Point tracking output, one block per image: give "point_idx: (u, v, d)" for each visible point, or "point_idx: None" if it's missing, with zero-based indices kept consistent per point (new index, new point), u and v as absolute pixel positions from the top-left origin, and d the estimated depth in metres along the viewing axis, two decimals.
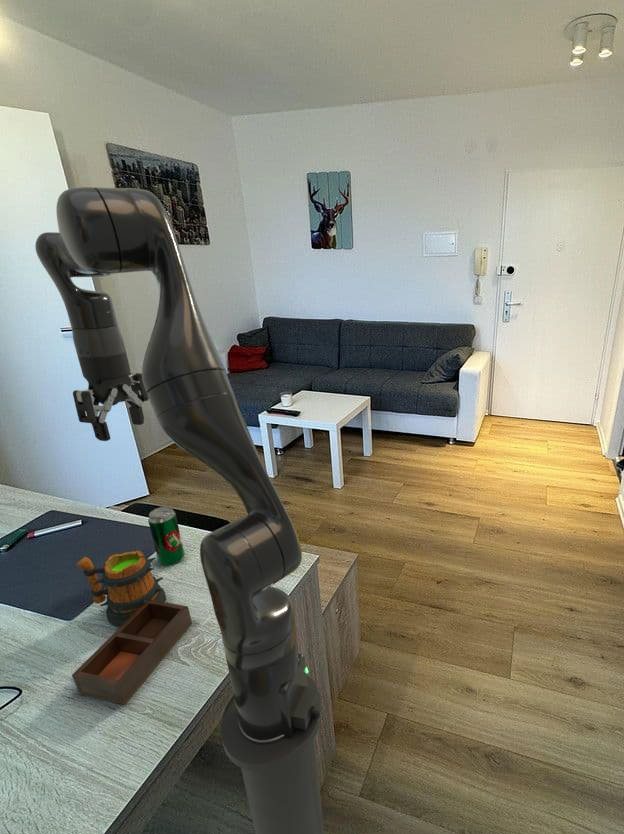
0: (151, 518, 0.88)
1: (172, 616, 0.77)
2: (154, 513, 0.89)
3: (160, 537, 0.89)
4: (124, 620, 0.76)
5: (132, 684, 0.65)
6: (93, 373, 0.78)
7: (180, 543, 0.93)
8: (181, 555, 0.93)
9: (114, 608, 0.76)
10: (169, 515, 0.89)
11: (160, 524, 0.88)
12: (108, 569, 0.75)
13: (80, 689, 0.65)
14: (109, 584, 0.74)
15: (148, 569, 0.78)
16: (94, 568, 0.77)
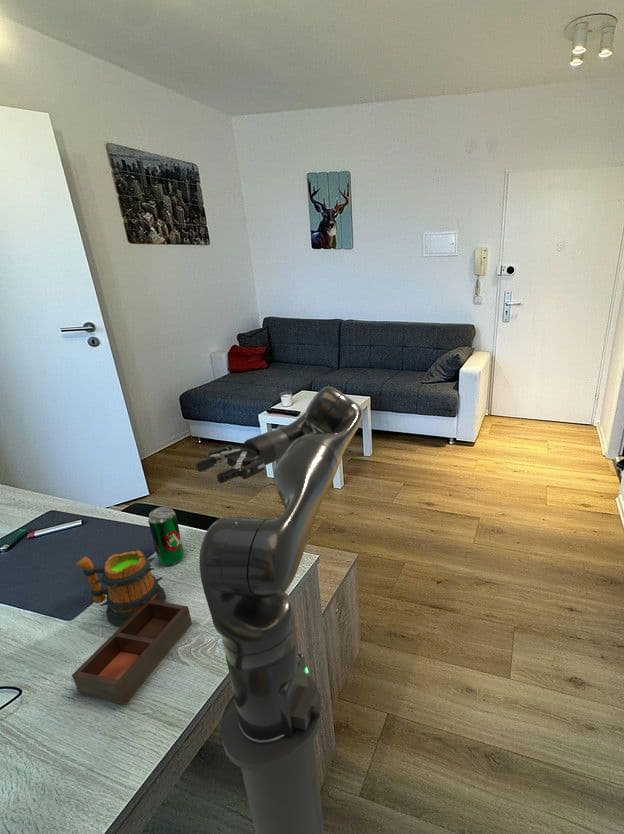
0: (151, 518, 0.88)
1: (172, 616, 0.77)
2: (154, 513, 0.89)
3: (160, 537, 0.89)
4: (124, 620, 0.76)
5: (132, 684, 0.65)
6: (266, 460, 1.04)
7: (180, 543, 0.93)
8: (181, 555, 0.93)
9: (114, 608, 0.76)
10: (169, 515, 0.89)
11: (160, 524, 0.88)
12: (108, 569, 0.75)
13: (80, 689, 0.65)
14: (109, 584, 0.74)
15: (148, 569, 0.78)
16: (94, 568, 0.77)
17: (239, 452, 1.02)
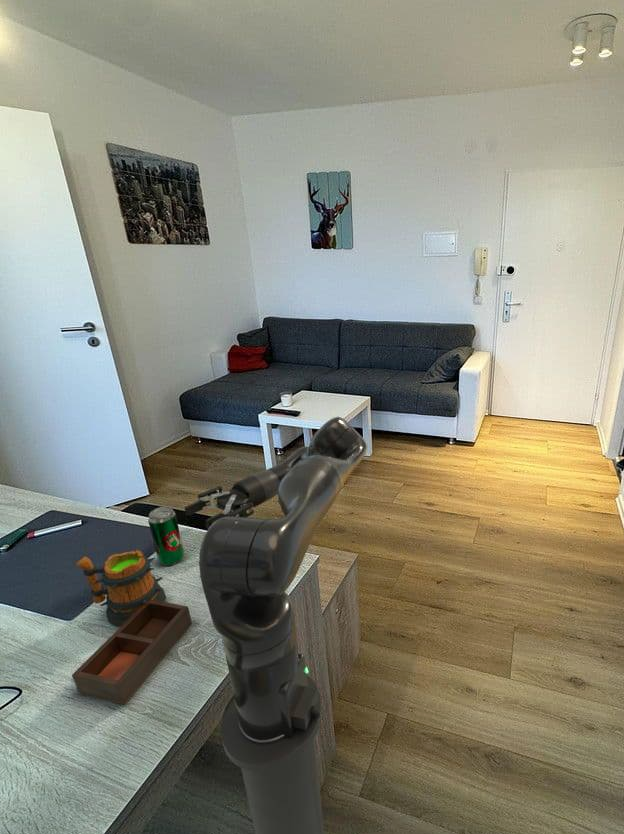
0: (151, 518, 0.88)
1: (172, 616, 0.77)
2: (154, 513, 0.89)
3: (160, 537, 0.89)
4: (124, 620, 0.76)
5: (132, 684, 0.65)
6: (255, 502, 1.04)
7: (180, 543, 0.93)
8: (181, 555, 0.93)
9: (114, 608, 0.76)
10: (169, 515, 0.89)
11: (160, 524, 0.88)
12: (108, 569, 0.75)
13: (80, 689, 0.65)
14: (109, 584, 0.74)
15: (148, 569, 0.78)
16: (94, 568, 0.77)
17: (228, 495, 1.03)
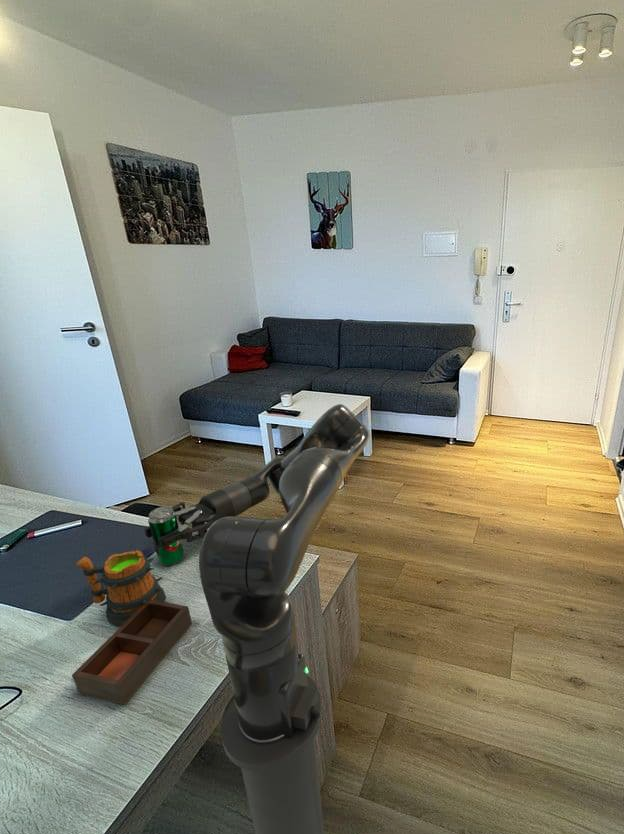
0: (151, 518, 0.88)
1: (172, 616, 0.77)
2: (154, 513, 0.89)
3: None
4: (124, 620, 0.76)
5: (132, 684, 0.65)
6: (223, 518, 0.98)
7: (180, 543, 0.93)
8: (181, 555, 0.93)
9: (114, 608, 0.76)
10: (169, 515, 0.89)
11: (160, 524, 0.88)
12: (108, 569, 0.75)
13: (80, 689, 0.65)
14: (109, 584, 0.74)
15: (148, 569, 0.78)
16: (94, 568, 0.77)
17: (194, 510, 0.96)
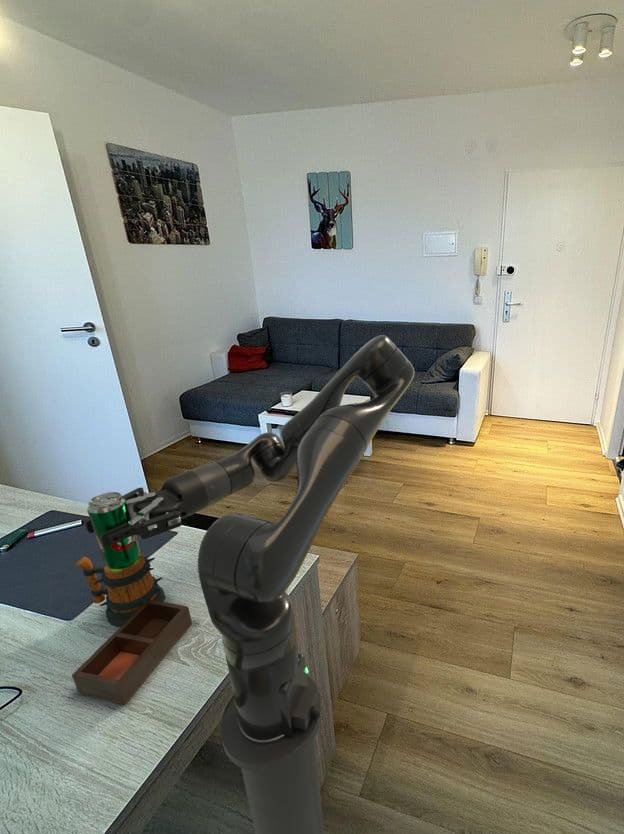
0: (91, 507, 0.65)
1: (172, 616, 0.77)
2: (96, 500, 0.67)
3: None
4: (123, 620, 0.76)
5: (132, 684, 0.65)
6: (192, 507, 0.75)
7: (133, 540, 0.70)
8: (135, 556, 0.70)
9: (114, 608, 0.76)
10: (116, 503, 0.66)
11: (102, 514, 0.65)
12: (107, 569, 0.75)
13: (80, 689, 0.65)
14: (108, 584, 0.74)
15: (147, 569, 0.78)
16: (93, 568, 0.77)
17: (153, 497, 0.74)
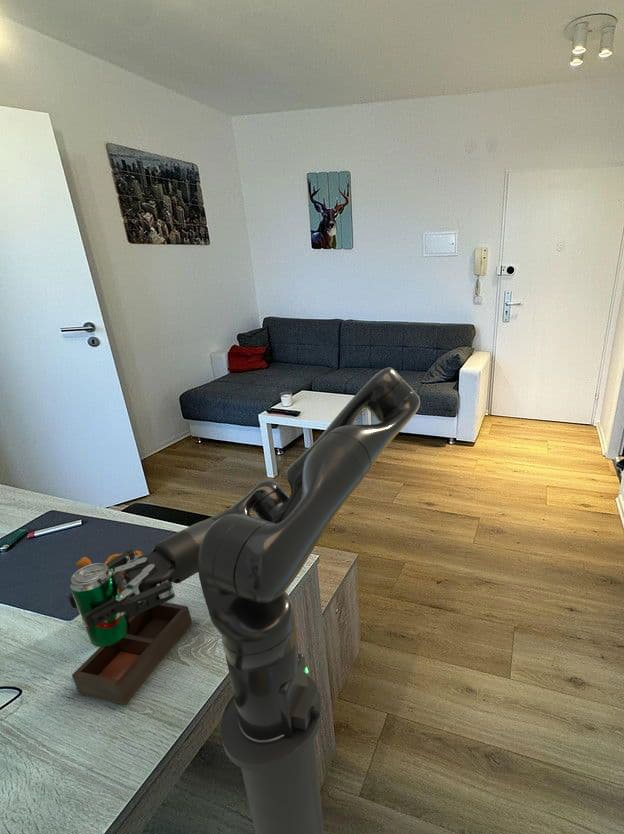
0: (73, 584, 0.59)
1: (172, 616, 0.77)
2: (80, 574, 0.61)
3: None
4: None
5: (132, 684, 0.65)
6: (186, 573, 0.69)
7: (122, 614, 0.64)
8: (124, 631, 0.65)
9: None
10: (102, 579, 0.60)
11: (86, 593, 0.59)
12: None
13: (80, 689, 0.65)
14: None
15: None
16: None
17: (144, 564, 0.68)
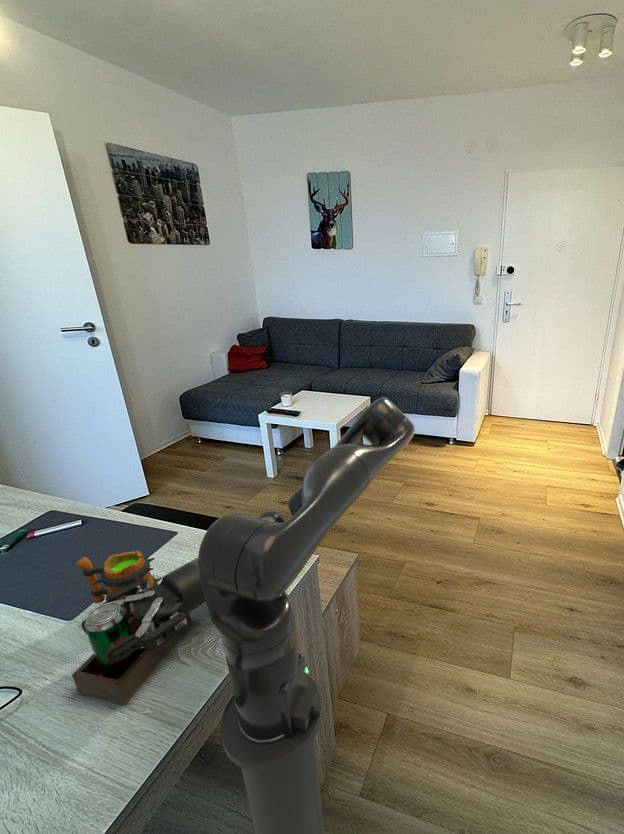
0: (88, 624, 0.62)
1: None
2: (95, 614, 0.64)
3: (102, 649, 0.63)
4: None
5: (132, 684, 0.65)
6: (193, 606, 0.71)
7: None
8: None
9: None
10: (115, 618, 0.63)
11: (100, 633, 0.62)
12: (107, 569, 0.75)
13: (80, 689, 0.65)
14: (108, 584, 0.74)
15: (147, 569, 0.78)
16: (93, 568, 0.77)
17: (152, 597, 0.70)
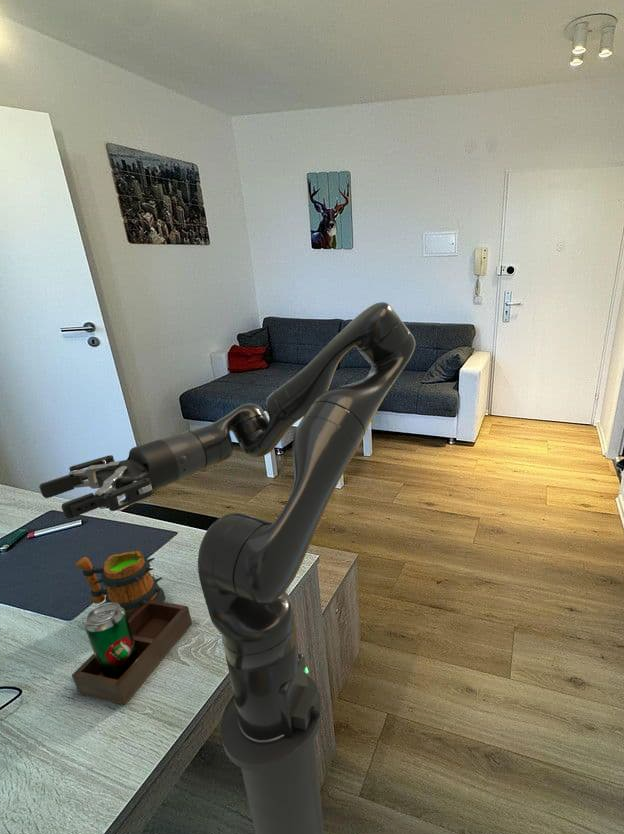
0: (88, 624, 0.62)
1: (172, 616, 0.77)
2: (95, 614, 0.64)
3: (102, 649, 0.63)
4: None
5: (132, 684, 0.65)
6: (160, 479, 0.68)
7: (133, 651, 0.67)
8: None
9: None
10: (115, 618, 0.63)
11: (100, 633, 0.62)
12: (107, 569, 0.75)
13: (80, 689, 0.65)
14: (108, 584, 0.74)
15: (147, 569, 0.78)
16: (93, 568, 0.77)
17: (117, 467, 0.66)
